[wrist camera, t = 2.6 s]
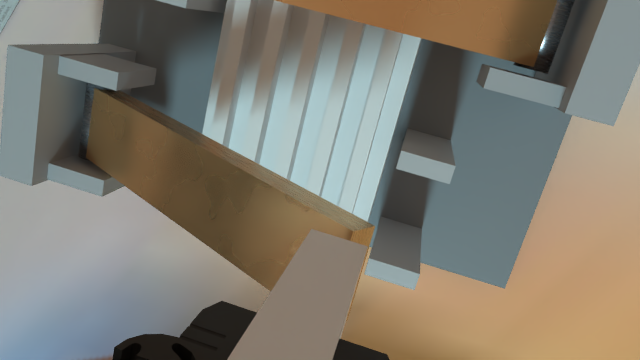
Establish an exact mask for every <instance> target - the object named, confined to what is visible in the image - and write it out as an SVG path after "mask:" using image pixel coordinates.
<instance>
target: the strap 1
mask: <svg viewBox="0 0 640 360" xmlns="http://www.w3.org/2000/svg"><path fill="white" fill-rule="evenodd" d="M78 156H79V157H80V158H82V159H84V160H88V161H91V162H93V163H94V164H95V165H97V166H98V167H100V168H101V169H102V170H104V171H105V172H106V173H108V174H109V175H111V176H112V177H113V178H115V179H116V180H118V181H119V182H120V183H122V184H123V185H124V186H126V187H127V188H129V189H130V190H131V191H133V192H134V193H135V194H137V195H138V196H140V197H141V198H142V199H144V200H145V201H147V202H148V203H149V204H151V205H152V206H153V207H155V208H156V209H158V210H159V211H160V212H162V213H163V214H165V215H166V216H167V217H169V218H170V219H171V220H173V221H174V222H176V223H177V224H178V225H180V226H181V227H182V228H184V229H185V230H187V231H188V232H189V233H191V234H192V235H194V236H195V237H196V238H198V239H199V240H200V241H202V242H203V243H205V244H206V245H207V246H209V247H210V248H212V249H213V250H214V251H216V252H217V253H218V254H220V255H221V256H223V257H224V258H225V259H227V260H228V261H229V262H231V263H232V264H234V265H235V266H236V267H238V268H239V269H241V270H242V271H243V272H245V273H246V274H247V275H249V276H250V277H252V278H253V279H254V280H256V281H257V282H259V283H260V284H261V285H263V286H264V287H265V288H267V289H268V290H270V291H272V289H273V288H274V286H275V285H276V283H277V281H278V280H279V278H280V277H281V275H282V274H283V272H284V271H285V269H286V268H287V266H288V264H289V263H290V261H291V260H292V258H293V257H294V255H295V254H296V252H297V251H298V249H299V247H300V246H301V244H302V243H303V241H304V240H305V238H306V237H307V235H308V233H309V232H310V230H311V229H314V230H317V231H320V232H323V233H326V234H330V235H333V236H336V237H339V238H342V239H346V240H349V241H352V242H355V243H358V244H362V245H365V246H368V248H367V251H366V254H365V258H364V261H363V265H362V268H361V271H360V275H359V278H358V281H357V285H356V288H355V291H354V295H353V298H352V302H351V305H350V308H349V312H348V315H347V318H346V321H347V319H348V316H349V313H350V309H351V306H352V303H353V299H354V296H355V292H356V289H357V286H358V282H359V279H360V276H361V272H362V269H363V266H364V262H365V259H366V256H367V252H368V249H369V245H370V242H371V239H372V235H373V232H374V229H375V226H374V225H372V224H371V223H369V222H367V221H365V220H363V219H361V218H359V217H357V216H355V215H354V214H352V213H350V212H348V211H346V210H344V209H342V208H340V207H339V206H337V205H335V204H333V203H331V202H329V201H327V200H325V199H323V198H322V197H320V196H318V195H316V194H314V193H312V192H310V191H308V190H307V189H305V188H303V187H301V186H299V185H297V184H295V183H293V182H291V181H290V180H288V179H286V178H284V177H282V176H280V175H278V174H276V173H274V172H273V171H271V170H269V169H267V168H265V167H263V166H261V165H259V164H258V163H256V162H254V161H252V160H250V159H248V158H246V157H244V156H242V155H241V154H239V153H237V152H235V151H233V150H231V149H229V148H227V147H226V146H224V145H222V144H220V143H218V142H216V141H214V140H212V139H210V138H209V137H207V136H205V135H203V134H201V133H199V132H197V131H195V130H194V129H192V128H190V127H188V126H186V125H184V124H182V123H180V122H178V121H177V120H175V119H173V118H171V117H169V116H167V115H165V114H163V113H162V112H160V111H158V110H156V109H154V108H152V107H150V106H148V105H146V104H145V103H143V102H141V101H139V100H137V99H135V98H133V97H131V96H130V95H128V94H126V93H124V92H122V91H120V90H118V91H115V90H112V89H108V88H105V87H101V86H98V85H94V84H91V83H88V82H87V84H86V92H85V101H84V109H83V118H82V127H81V135H80V144H79V152H78Z"/></svg>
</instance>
